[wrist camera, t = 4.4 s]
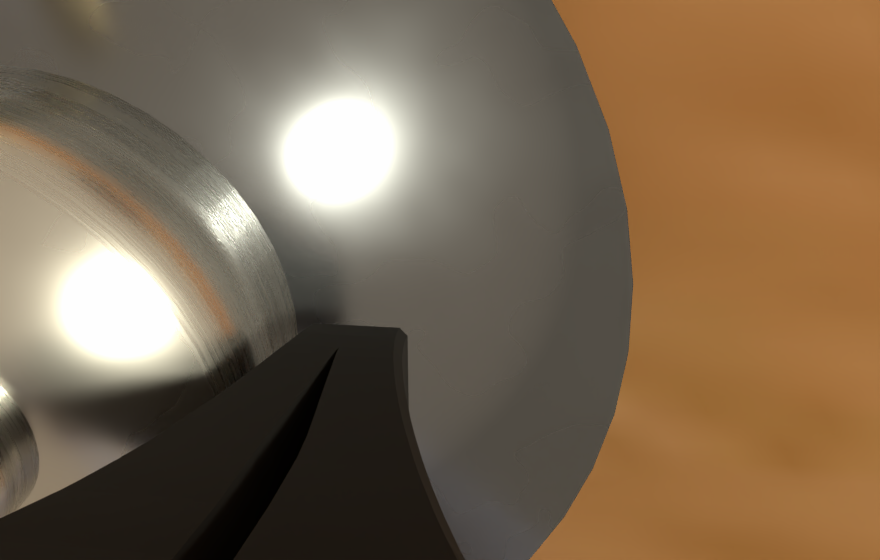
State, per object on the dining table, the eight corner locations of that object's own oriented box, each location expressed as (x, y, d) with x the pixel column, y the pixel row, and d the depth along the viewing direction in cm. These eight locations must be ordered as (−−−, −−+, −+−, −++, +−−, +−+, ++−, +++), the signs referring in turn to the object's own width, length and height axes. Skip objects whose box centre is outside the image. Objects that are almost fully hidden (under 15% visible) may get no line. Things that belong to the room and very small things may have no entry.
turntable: (569, 651, 16) (588, 889, 12) (-159, 587, 18) (-359, 781, 14) (705, -374, 8) (894, -674, 4) (-643, -339, 10) (-1474, -536, 6)
